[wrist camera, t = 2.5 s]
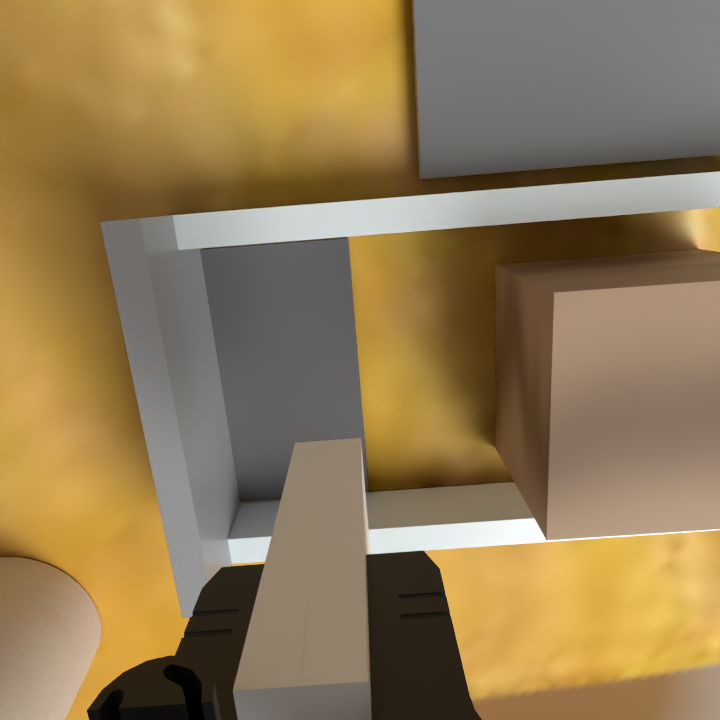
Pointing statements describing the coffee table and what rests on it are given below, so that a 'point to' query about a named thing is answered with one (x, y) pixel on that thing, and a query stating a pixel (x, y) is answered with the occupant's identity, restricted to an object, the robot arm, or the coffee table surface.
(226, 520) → the channel
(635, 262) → the walnut block
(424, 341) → the coffee table surface
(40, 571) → the coffee cup
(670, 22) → the slate coaster
